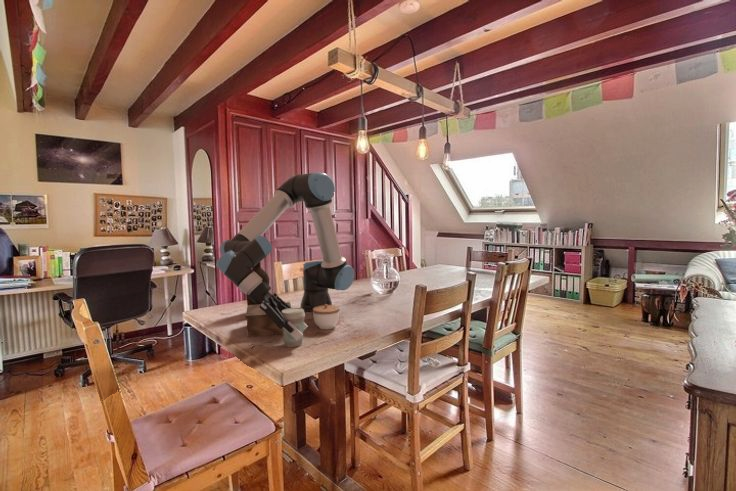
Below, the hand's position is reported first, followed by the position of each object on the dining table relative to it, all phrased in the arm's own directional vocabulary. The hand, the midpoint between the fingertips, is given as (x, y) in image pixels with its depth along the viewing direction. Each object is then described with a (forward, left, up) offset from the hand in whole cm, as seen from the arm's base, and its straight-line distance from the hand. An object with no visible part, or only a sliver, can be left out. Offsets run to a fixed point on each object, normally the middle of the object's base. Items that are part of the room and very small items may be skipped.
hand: (302, 333), depth 124 cm
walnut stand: (+11, -22, -4) cm, 25 cm away
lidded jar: (-11, -17, -4) cm, 20 cm away
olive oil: (+16, -48, -4) cm, 51 cm away
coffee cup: (+3, -1, -4) cm, 5 cm away
